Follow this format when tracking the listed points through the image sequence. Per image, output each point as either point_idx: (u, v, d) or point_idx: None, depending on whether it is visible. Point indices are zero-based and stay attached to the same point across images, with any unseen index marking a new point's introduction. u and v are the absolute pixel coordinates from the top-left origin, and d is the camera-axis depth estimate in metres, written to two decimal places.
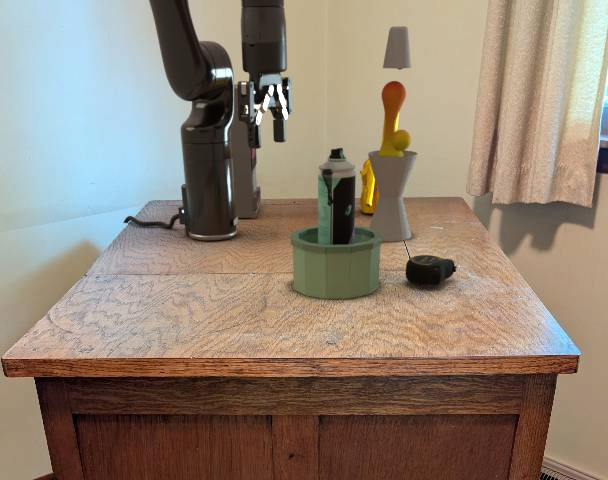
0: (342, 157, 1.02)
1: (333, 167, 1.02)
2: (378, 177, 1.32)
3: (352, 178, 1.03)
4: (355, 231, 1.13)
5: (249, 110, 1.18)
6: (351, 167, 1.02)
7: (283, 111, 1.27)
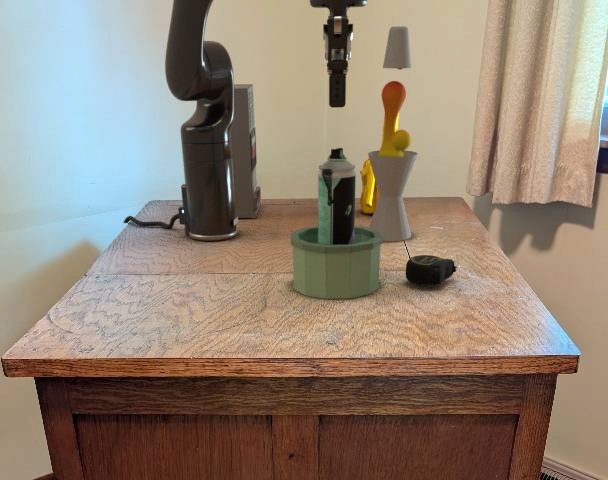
0: (342, 157, 1.02)
1: (333, 167, 1.02)
2: (378, 177, 1.32)
3: (352, 178, 1.03)
4: (355, 231, 1.13)
5: (345, 54, 0.90)
6: (351, 167, 1.02)
7: None
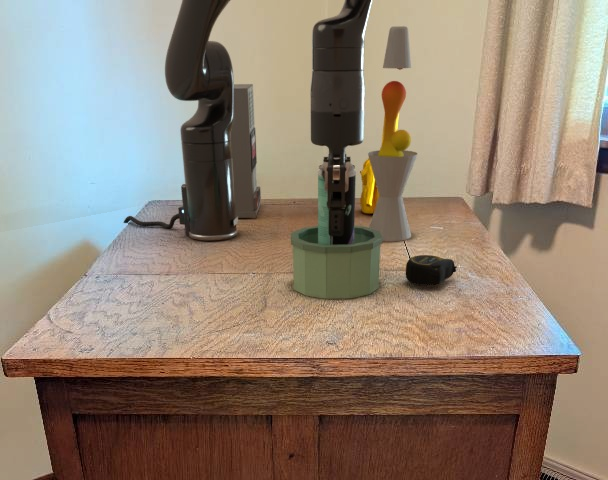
0: None
1: None
2: (378, 177, 1.32)
3: (352, 178, 1.03)
4: (355, 231, 1.13)
5: (343, 197, 1.00)
6: (351, 167, 1.02)
7: None
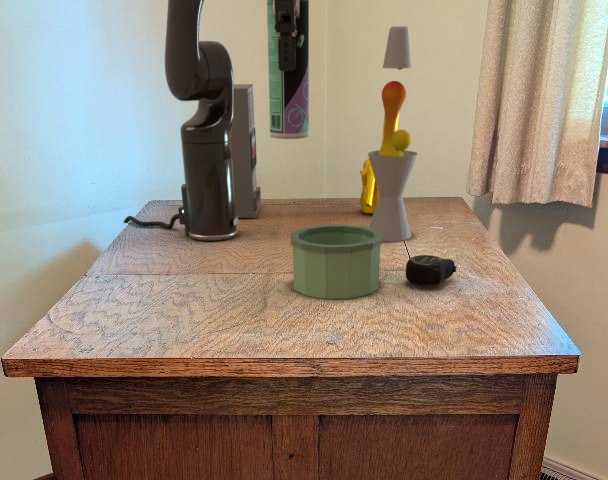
0: None
1: None
2: (378, 177, 1.32)
3: (304, 2, 0.92)
4: (355, 231, 1.13)
5: (293, 17, 0.89)
6: None
7: None
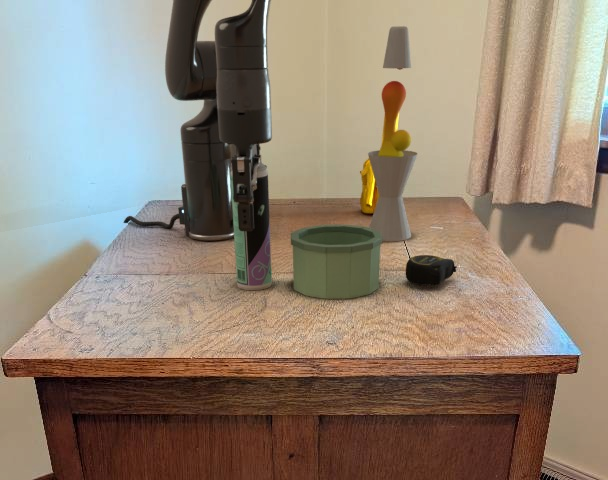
0: None
1: None
2: (378, 177, 1.32)
3: (263, 178, 1.04)
4: (355, 231, 1.13)
5: (249, 190, 0.99)
6: (262, 167, 1.03)
7: None
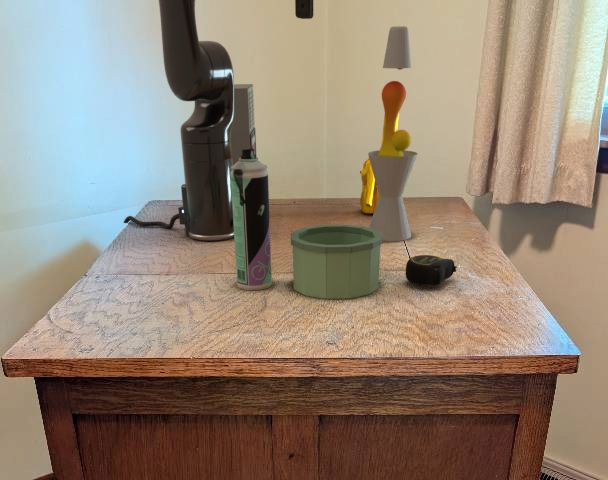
0: (253, 157, 1.03)
1: (244, 167, 1.02)
2: (378, 177, 1.32)
3: (263, 178, 1.04)
4: (355, 231, 1.13)
5: None
6: (262, 167, 1.03)
7: None
